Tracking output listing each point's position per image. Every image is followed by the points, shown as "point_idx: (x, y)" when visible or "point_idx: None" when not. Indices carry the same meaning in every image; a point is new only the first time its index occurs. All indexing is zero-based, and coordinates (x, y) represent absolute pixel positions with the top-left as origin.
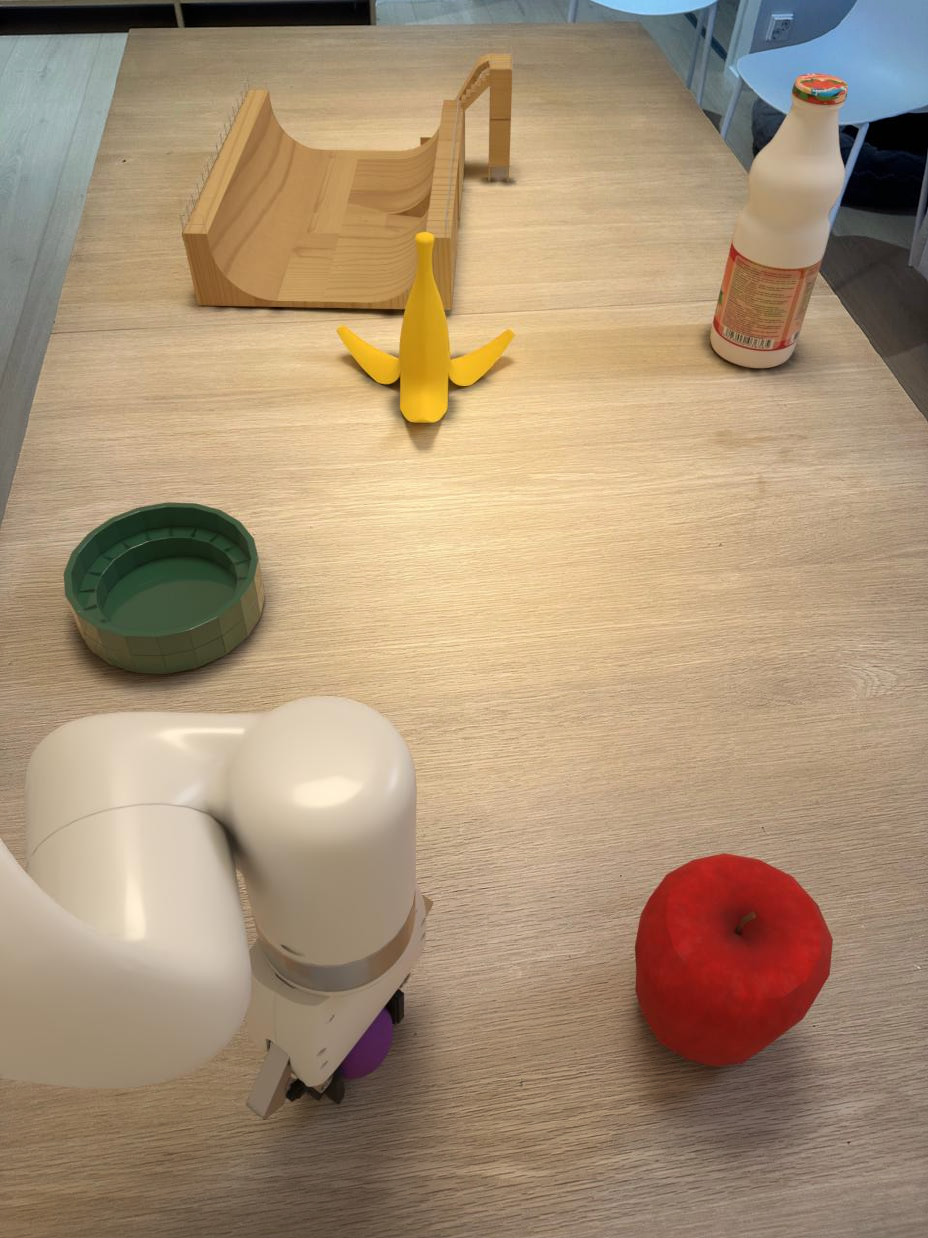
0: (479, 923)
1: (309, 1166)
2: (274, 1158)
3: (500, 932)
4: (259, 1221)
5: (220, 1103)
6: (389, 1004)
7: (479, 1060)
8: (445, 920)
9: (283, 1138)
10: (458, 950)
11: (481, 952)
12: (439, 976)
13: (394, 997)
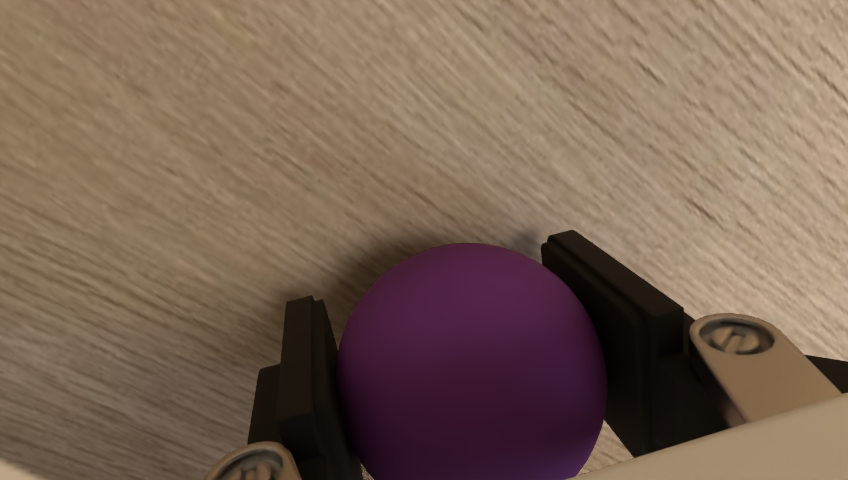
0: (837, 251)
1: (198, 435)
2: (134, 381)
3: (840, 295)
4: (33, 463)
5: (66, 189)
6: (611, 413)
7: (603, 459)
8: (806, 193)
9: (177, 358)
10: (761, 269)
11: (783, 303)
12: (690, 288)
13: (651, 452)
